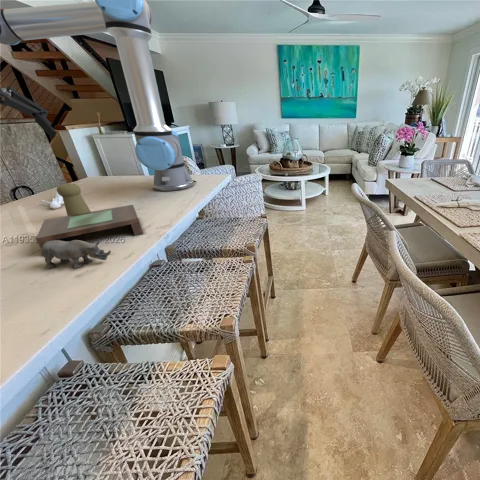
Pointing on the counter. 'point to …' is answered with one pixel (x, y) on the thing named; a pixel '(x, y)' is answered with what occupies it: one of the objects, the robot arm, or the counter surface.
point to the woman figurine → (55, 201)
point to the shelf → (88, 223)
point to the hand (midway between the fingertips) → (26, 136)
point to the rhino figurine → (72, 252)
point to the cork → (72, 199)
